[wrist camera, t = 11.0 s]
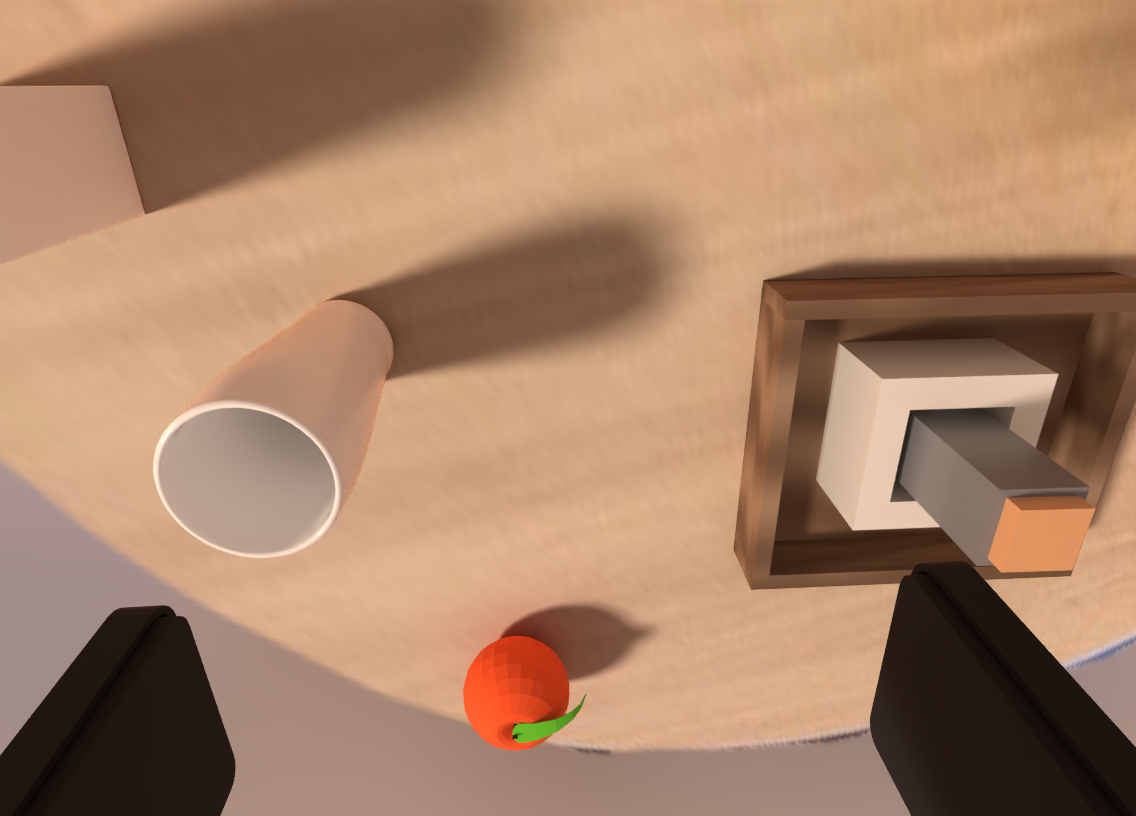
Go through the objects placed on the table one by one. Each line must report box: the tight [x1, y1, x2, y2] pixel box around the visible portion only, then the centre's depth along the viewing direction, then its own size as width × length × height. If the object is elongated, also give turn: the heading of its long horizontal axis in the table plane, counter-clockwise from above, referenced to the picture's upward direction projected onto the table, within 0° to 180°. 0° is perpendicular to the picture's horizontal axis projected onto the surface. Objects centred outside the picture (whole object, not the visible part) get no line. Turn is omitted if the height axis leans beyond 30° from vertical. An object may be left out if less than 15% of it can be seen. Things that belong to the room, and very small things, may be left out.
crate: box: [734, 272, 1136, 590], centre depth 41 cm, size 18×20×4 cm
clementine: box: [463, 636, 586, 750], centre depth 45 cm, size 8×7×7 cm
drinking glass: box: [153, 300, 394, 558], centre depth 32 cm, size 7×7×15 cm
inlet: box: [816, 338, 1058, 530], centre depth 39 cm, size 9×9×5 cm
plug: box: [895, 408, 1096, 573], centre depth 35 cm, size 4×4×11 cm
